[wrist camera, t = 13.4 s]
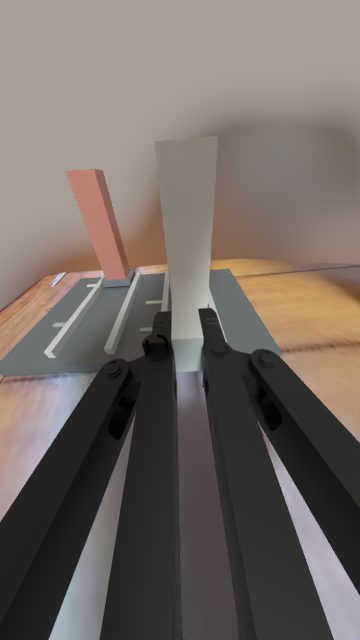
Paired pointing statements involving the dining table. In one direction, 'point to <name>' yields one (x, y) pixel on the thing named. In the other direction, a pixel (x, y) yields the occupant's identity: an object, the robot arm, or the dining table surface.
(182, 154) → the cream fader
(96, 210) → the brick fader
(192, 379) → the dining table surface
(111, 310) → the console
